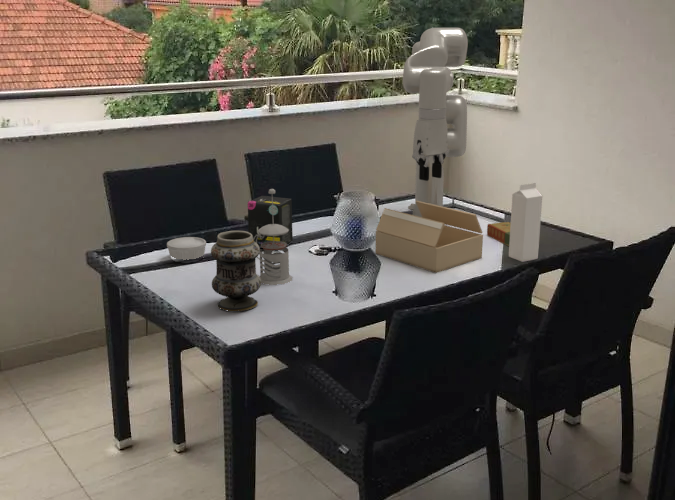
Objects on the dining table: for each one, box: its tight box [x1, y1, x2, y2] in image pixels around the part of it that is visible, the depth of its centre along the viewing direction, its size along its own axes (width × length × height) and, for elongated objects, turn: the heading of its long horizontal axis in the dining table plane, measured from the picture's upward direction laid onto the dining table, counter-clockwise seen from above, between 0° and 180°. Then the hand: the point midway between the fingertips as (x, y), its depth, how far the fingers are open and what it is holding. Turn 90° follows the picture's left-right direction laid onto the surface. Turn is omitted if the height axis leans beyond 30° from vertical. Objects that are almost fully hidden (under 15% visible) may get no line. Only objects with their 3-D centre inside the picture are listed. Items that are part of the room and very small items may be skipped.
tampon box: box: [247, 195, 294, 246], centre depth 232 cm, size 11×9×15 cm
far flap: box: [416, 201, 483, 235], centre depth 225 cm, size 23×7×1 cm
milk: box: [508, 182, 543, 263], centre depth 218 cm, size 6×6×22 cm
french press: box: [253, 188, 294, 286], centre depth 202 cm, size 10×12×25 cm
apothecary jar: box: [210, 230, 262, 312], centre depth 184 cm, size 12×12×18 cm
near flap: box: [375, 207, 446, 247], centre depth 215 cm, size 23×7×1 cm
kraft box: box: [375, 224, 484, 274], centre depth 222 cm, size 24×20×7 cm
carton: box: [486, 221, 511, 247], centre depth 237 cm, size 8×16×4 cm, turn 20°
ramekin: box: [166, 236, 207, 260], centre depth 222 cm, size 11×11×5 cm
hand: (430, 178), depth 216 cm, fingers open, 4 cm apart
